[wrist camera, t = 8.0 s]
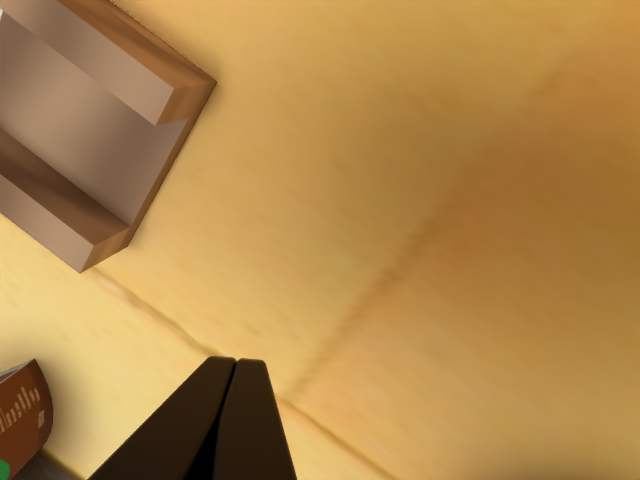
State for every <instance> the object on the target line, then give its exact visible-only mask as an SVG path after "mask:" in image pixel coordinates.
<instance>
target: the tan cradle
mask: <svg viewBox="0 0 640 480" xmlns="http://www.w3.org/2000/svg"><path fill="white" fill-rule="evenodd" d="M216 83H217V82H216V81H215V80H213V79H212V78H211V77H209V76H208V75H207V74H206V73H204V72H203V71H202V70H200V69H199V68H198V67H196V66H195V65H194V64H192V63H191V62H190V61H188V60H187V59H186V58H184V57H183V56H182V55H180V54H179V53H178V52H176V51H175V50H174V49H172V48H171V47H170V46H168V45H167V44H166V43H164V42H163V41H162V40H160V39H159V38H158V37H156V36H155V35H154V34H152V33H151V32H150V31H148V30H147V29H146V28H144V27H143V26H142V25H140V24H139V23H138V22H136V21H135V20H134V19H132V18H131V17H130V16H128V15H127V14H126V13H124V12H123V11H122V10H120V9H119V8H118V7H116V6H115V5H114V4H112V3H111V2H110V1H108V0H0V213H1V214H3V215H4V216H5V217H7V218H8V219H9V220H11V221H12V222H13V223H14V224H16V225H17V226H18V227H20V228H21V229H22V230H24V231H25V232H26V233H27V234H29V235H30V236H31V237H33V238H34V239H35V240H37V241H38V242H39V243H40V244H42V245H43V246H44V247H46V248H47V249H48V250H50V251H51V252H52V253H53V254H55V255H56V256H57V257H59V258H60V259H61V260H63V261H64V262H65V263H66V264H68V265H69V266H70V267H72V268H73V269H74V270H76V271H77V272H78V273H79V274H80V273H82V272H84V271H85V270H87V269H89V268H91V267H92V266H94V265H96V264H98V263H99V262H101V261H103V260H105V259H106V258H108V257H110V256H112V255H113V254H115V253H117V252H119V251H121V250H122V249H124V248H126V247H127V246H128V244H129V242H130V241H131V239H132V237H133V235H134V233H135V231H136V230H137V228H138V226H139V224H140V222H141V220H142V219H143V217H144V215H145V213H146V211H147V209H148V208H149V206H150V204H151V202H152V200H153V198H154V197H155V195H156V193H157V191H158V189H159V187H160V186H161V184H162V182H163V180H164V178H165V176H166V175H167V173H168V171H169V169H170V167H171V165H172V164H173V162H174V160H175V158H176V156H177V154H178V153H179V151H180V149H181V147H182V145H183V143H184V142H185V140H186V138H187V136H188V134H189V132H190V131H191V129H192V127H193V125H194V123H195V121H196V120H197V118H198V116H199V114H200V112H201V110H202V108H203V107H204V105H205V103H206V101H207V99H208V97H209V96H210V94H211V92H212V90H213V88H214V86H215V85H216Z"/></svg>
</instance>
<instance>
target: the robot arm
mask: <svg viewBox="0 0 640 480" xmlns="http://www.w3.org/2000/svg"><path fill="white" fill-rule="evenodd" d="M87 480H297V476H296V473H295V469H294V465H293V462H292V458H291V455H290V451H289V447H288V444H287V440H286V436H285V433H284V429H283V425H282V422H281V418H280V414H279V411H278V407H277V403H276V400H275V396H274V392H273V389H272V385H271V381H270V378H269V374H268V370H267V367H266V364H265V362H264V361H263V360H257V359H245V358H241V359H239V360H238V361H237V360H236V359H235V358H233V357H222V356H211V357H209V358H207V359H206V360H205V361H204V362H203V363H202V364H201V365H200V366H199V367H198V368H197V369H196V370H195V371H194V372H193V373H192V374H191V375H190V376H189V377H188V378H187V379H186V380H185V381H184V382H183V383H182V384H181V385H180V386H179V387H178V388H177V390H176V391H175V392H174V393H173V394H172V395H171V396H170V397H169V398H168V399H167V400H166V401H165V402H164V403H163V404H162V405H161V406H160V407H159V408H158V409H157V410H156V411H155V412H154V413H153V414H152V415H151V416H150V417H149V418H148V419H147V420H146V421H145V422H144V423H143V424H142V425H141V426H140V427H139V428H138V429H137V430H136V431H135V432H134V433H133V434H132V435H131V436H130V437H129V438H128V439H127V440H126V441H125V442H124V443H123V444H122V445H121V446H120V447H119V448H118V449H117V450H116V451H115V452H114V453H113V454H112V455H111V456H110V457H109V458H108V459H107V460H106V461H105V462H104V463H103V464H102V465H101V466H100V467H99V468H98V469H97V470H96V471H95V472H94V473H93V474H92V475H91V476H90V477H89V478H88V479H87Z"/></svg>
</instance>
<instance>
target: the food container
mask: <svg viewBox="0 0 640 480" xmlns="http://www.w3.org/2000/svg"><path fill="white" fill-rule="evenodd" d="M52 423H53V407H52V399H51V395H50V392H49V388H48V385H47V382H46V380H45V378H44V375H43V373H42V371H41V369H40V368H39V366H38V364H37V362H36V360H35V359H33V360H30V361H28V362H25V363H23V364H21V365H18V366H16V367H13V368H11V369H8V370H6V371H4V372H1V373H0V480H11V479H12V478H13V477H14V476H15V475H16V474H17V473H18V471H19V470H20V469H21V468H22V467H23V466H24V465H25V464H26V463H27V462H28V461H29V460H30V459H31V458H32V457H33V456H34V455H35V454H36V453H37V452H38V450H39V449H40V448H41V447H42V446H43V445H44V443H45V442H46V441H47V439H48V437H49V434H50V432H51V428H52Z"/></svg>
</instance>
